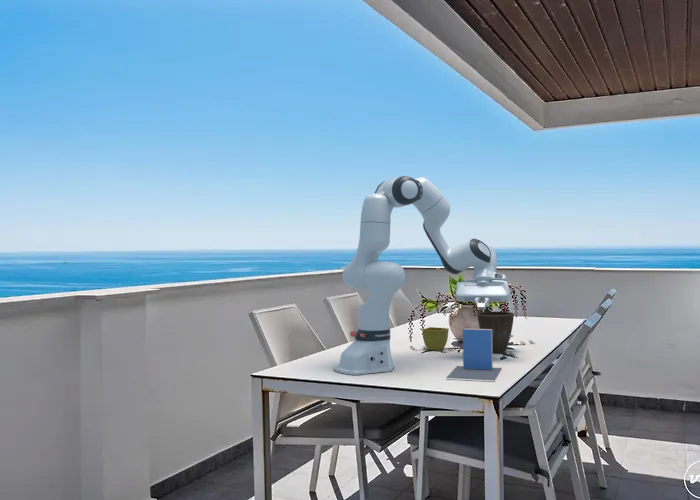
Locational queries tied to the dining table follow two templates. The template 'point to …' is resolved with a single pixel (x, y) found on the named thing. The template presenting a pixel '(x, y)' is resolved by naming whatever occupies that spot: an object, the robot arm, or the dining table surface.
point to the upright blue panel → (477, 349)
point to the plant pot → (497, 328)
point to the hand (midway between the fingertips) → (481, 308)
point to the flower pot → (435, 338)
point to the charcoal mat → (474, 374)
